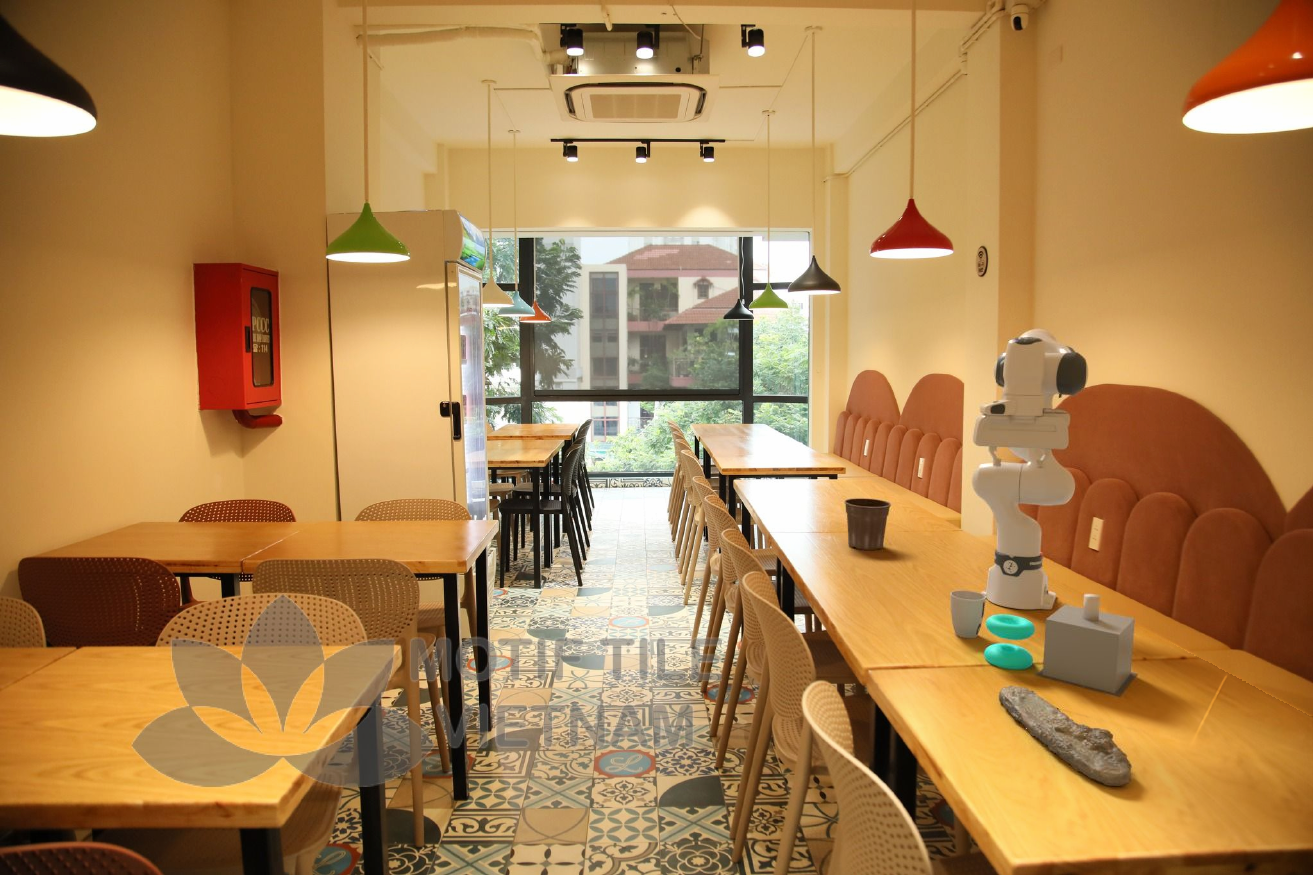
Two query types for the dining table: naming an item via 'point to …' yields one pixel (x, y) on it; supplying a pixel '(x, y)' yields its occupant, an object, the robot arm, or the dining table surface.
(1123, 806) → the dining table surface
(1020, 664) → the donuts
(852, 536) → the plant pot
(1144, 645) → the dining table surface
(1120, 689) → the mat
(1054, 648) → the cover
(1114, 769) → the elongated rock
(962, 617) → the cup
